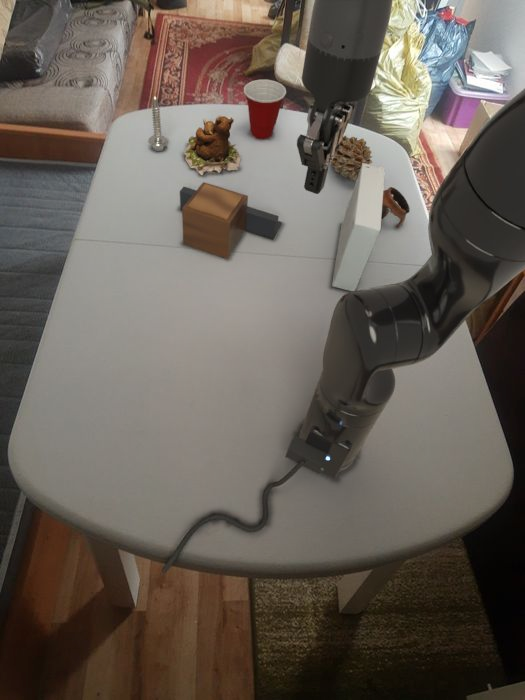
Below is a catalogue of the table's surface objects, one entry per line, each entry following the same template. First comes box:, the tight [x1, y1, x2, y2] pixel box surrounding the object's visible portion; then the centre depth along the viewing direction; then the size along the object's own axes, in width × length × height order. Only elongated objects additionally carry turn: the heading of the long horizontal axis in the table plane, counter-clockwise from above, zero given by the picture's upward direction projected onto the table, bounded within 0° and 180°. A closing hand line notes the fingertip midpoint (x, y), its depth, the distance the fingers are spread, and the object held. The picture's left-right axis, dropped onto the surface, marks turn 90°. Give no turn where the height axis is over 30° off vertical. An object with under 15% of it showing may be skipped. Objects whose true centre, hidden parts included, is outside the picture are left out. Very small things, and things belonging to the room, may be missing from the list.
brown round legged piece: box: [381, 186, 411, 228], centre depth 110 cm, size 12×9×8 cm
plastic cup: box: [243, 79, 287, 140], centre depth 126 cm, size 11×11×12 cm
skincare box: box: [331, 163, 386, 292], centre depth 97 cm, size 21×5×16 cm, turn 168°
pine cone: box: [330, 135, 373, 181], centre depth 121 cm, size 22×10×10 cm, turn 19°
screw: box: [147, 95, 169, 152], centre depth 116 cm, size 13×5×5 cm
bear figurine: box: [183, 114, 242, 176], centre depth 116 cm, size 14×15×12 cm
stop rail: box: [179, 186, 283, 241], centre depth 105 cm, size 6×22×5 cm, turn 70°
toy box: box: [181, 181, 249, 259], centre depth 99 cm, size 10×10×9 cm
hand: (313, 189), depth 62 cm, fingers closed
